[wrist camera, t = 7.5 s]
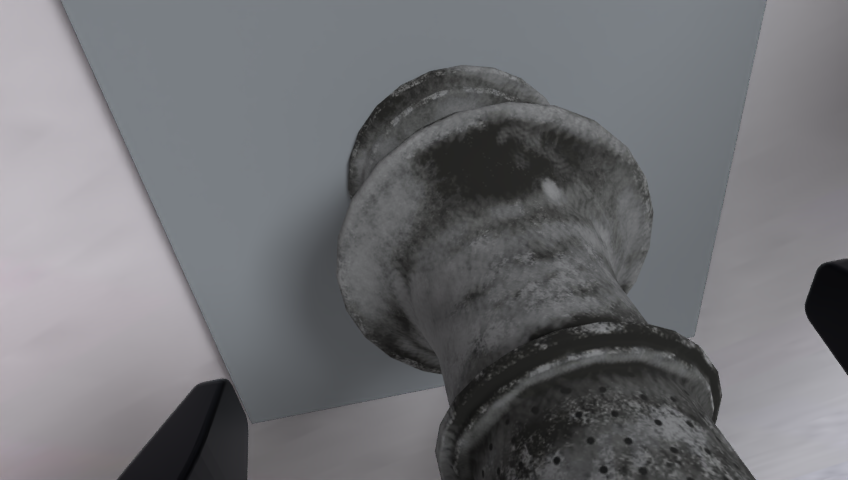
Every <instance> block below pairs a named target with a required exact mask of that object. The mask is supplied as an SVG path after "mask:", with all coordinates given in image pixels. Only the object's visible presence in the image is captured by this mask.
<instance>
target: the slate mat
mask: <svg viewBox="0 0 848 480" xmlns="http://www.w3.org/2000/svg"><path fill="white" fill-rule="evenodd" d="M766 1H767V0H61V2H62V4H63V6H64V9H65V11H66V13H67V15H68V17H69V20H70V22H71V24H72V26H73V28H74V31H75V33H76V35H77V37H78V40H79V42H80V44H81V46H82V48H83V51H84V53H85V55H86V57H87V60H88V62H89V64H90V66H91V68H92V71H93V73H94V75H95V77H96V79H97V82H98V84H99V86H100V88H101V91H102V93H103V95H104V97H105V99H106V102H107V104H108V106H109V108H110V110H111V113H112V115H113V117H114V119H115V122H116V124H117V126H118V128H119V130H120V133H121V135H122V137H123V139H124V141H125V144H126V146H127V148H128V150H129V153H130V155H131V157H132V159H133V161H134V164H135V166H136V168H137V170H138V173H139V175H140V177H141V179H142V181H143V184H144V186H145V188H146V190H147V192H148V195H149V197H150V199H151V201H152V204H153V206H154V208H155V210H156V212H157V215H158V217H159V219H160V221H161V223H162V226H163V228H164V230H165V232H166V235H167V237H168V239H169V241H170V243H171V246H172V248H173V250H174V252H175V255H176V257H177V259H178V261H179V263H180V266H181V268H182V270H183V272H184V274H185V277H186V279H187V281H188V283H189V286H190V288H191V290H192V292H193V294H194V297H195V299H196V301H197V303H198V305H199V308H200V310H201V312H202V314H203V317H204V319H205V321H206V323H207V325H208V328H209V330H210V332H211V334H212V336H213V339H214V341H215V343H216V345H217V348H218V350H219V352H220V354H221V356H222V359H223V361H224V363H225V365H226V368H227V370H228V372H229V374H230V376H231V379H232V381H233V383H234V385H235V387H236V390H237V392H238V394H239V396H240V399H241V401H242V403H243V405H244V407H245V410H246V412H247V414H248V416H249V418H250V421H251V423H252V424H254V423H259V422H264V421H269V420H274V419H279V418H284V417H289V416H294V415H299V414H304V413H309V412H315V411H320V410H325V409H330V408H335V407H340V406H345V405H350V404H355V403H360V402H365V401H370V400H375V399H380V398H385V397H391V396H396V395H401V394H406V393H411V392H416V391H421V390H426V389H431V388H436V387H441V386H445V384H444V380H443V376H442V374H436V373H431V372H425V371H421V370H419V369H416V368H414V367H412V366H409V365H407V364H405V363H402V362H400V361H398V360H395V359H393V358H391V357H389V356H388V355H387V354H386V353H384V352H383V351H382V350H381V349H379V348H378V347H377V346H375V345H374V344H373V343H372V342H370V341H369V340H368V339H367V338H365V337H364V335H363V334H362V332H361V331H360V329H359V328H358V327H357V325H356V324H355V322H354V321H353V319H352V318H351V317H350V315H349V314H348V312H347V311H346V308H345V305H344V301H343V298H342V295H341V291H340V288H339V284H338V281H337V278H336V271H337V244H338V235H339V233H340V230H341V227H342V224H343V221H344V219H345V216H346V213H347V210H348V208H349V205H350V202H351V199H350V195H349V191H348V175H349V159H350V156H351V153H352V150H353V147H354V144H355V141H356V138H357V135H358V132H359V130H360V129H361V128H362V126H363V125H364V123H365V122H366V120H367V119H368V117H369V116H370V114H371V113H372V112H373V110H374V109H375V107H376V106H377V105H378V104H379V103H380V102H382V101H383V100H384V99H385V98H386V97H388V96H389V95H390V94H391V93H392V92H393V91H395V90H396V89H397V88H398V87H399V86H400V85H402V84H404V83H406V82H408V81H411V80H413V79H415V78H417V77H419V76H421V75H423V74H425V73H427V72H429V71H433V70H438V69H443V68H449V67H454V66H459V65H469V66H481V67H492V68H496V69H498V70H501V71H504V72H506V73H509V74H511V75H514V76H516V77H519V78H521V79H523V80H524V81H525V82H526V83H528V84H529V85H530V86H532V87H533V88H534V89H535V90H537V91H538V92H539V93H540V94H542V95H543V96H544V97H545V98H546V99H547V101H548V102H549V104H550V105H555V106H558V107H561V108H563V109H566V110H569V111H571V112H574V113H577V114H579V115H582V116H585V117H587V118H590V119H592V120H595V121H596V122H597V123H599V124H600V125H601V126H602V127H604V128H605V129H606V130H607V131H608V132H610V133H611V134H612V135H613V136H615V137H616V138H617V139H618V140H620V141H621V142H622V143H623V144H624V145H626V146H627V147H628V148H629V150H630V152H631V153H632V155H633V157H634V158H635V160H636V162H637V163H638V165H639V167H640V168H641V170H642V172H643V173H644V175H645V177H646V178H647V183H648V188H649V193H650V198H651V202H652V207H653V212H654V213H653V222H652V232H651V241H650V248H649V250H648V253H647V255H646V258H645V261H644V263H643V266H642V268H641V271H640V273H639V276H638V278H637V281H636V282H635V284H634V285H633V287H632V288H631V290H630V291H629V292H628V294H627V296H628V298H629V299H630V300H631V302H632V303H633V304H634V306H635V307H636V308H637V309H638V311H639V312H640V313H641V315H642V316H643V317H644V319H645V320H646V321H647V323H648V324H650V325H654V326H658V327H662V328H666V329H670V330H674V331H676V332H678V333H679V334H681V335H682V336H684V337H686V338H689V337H694V335H695V331H696V326H697V321H698V317H699V312H700V307H701V303H702V298H703V294H704V289H705V284H706V280H707V275H708V270H709V266H710V261H711V256H712V252H713V247H714V243H715V238H716V233H717V229H718V224H719V219H720V215H721V210H722V205H723V201H724V196H725V192H726V187H727V182H728V178H729V173H730V168H731V164H732V159H733V154H734V150H735V145H736V141H737V136H738V131H739V127H740V122H741V117H742V113H743V108H744V103H745V99H746V94H747V90H748V85H749V80H750V76H751V71H752V66H753V62H754V57H755V52H756V48H757V43H758V39H759V34H760V29H761V25H762V20H763V15H764V11H765V6H766Z"/></svg>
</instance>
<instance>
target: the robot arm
mask: <svg viewBox="0 0 848 480" xmlns="http://www.w3.org/2000/svg"><path fill="white" fill-rule="evenodd" d="M805 312H806V315H807V318H808V319H809V321H810V323H811V324H812V325H813V327H814V328H815V330H816V331H817V332H818V334H819V335H820V337H821V338H822V340H823V341H824V342H825V344H826V345H827V347H828V348H829V349H830V351H831V352H832V354H833V355H834V357H835V358H836V359H837V361H838V362H839V364H840V365H841V366H842V368H843V369H844V371H845V372H846V374H847V375H848V259H841V260H836V261H831V262H826V263H824V264H822V265H821V266H820V267H819V268H818V269H817V271H816V274H815V276H814V279H813V282H812V285H811V288H810V291H809V293H808V296H807V299H806V302H805ZM247 466H248V423H247V418H246V415H245V412H244V410H243V408H242V406H241V403H240V401H239V399H238V397H237V395H236V393H235V390H234V388H233V386H232V384H231V383H230V381H229V380H227V379H217V380H212V381H207V382H202V383H199V384H198V385H196V386H195V387H194V388H193V389H192V390H191V392H190V393H189V394H188V395H187V396H186V398H185V399H184V400H183V401H182V402H181V404H180V405H179V406H178V407H177V408H176V410H175V411H174V412H173V413H172V414H171V415H170V417H169V418H168V419H167V420H166V421H165V423H164V424H163V425H162V426H161V427H160V429H159V430H158V431H157V432H156V433H155V435H154V436H153V437H152V438H151V439H150V440H149V442H148V443H147V444H146V445H145V446H144V448H143V449H142V450H141V451H140V452H139V454H138V455H137V456H136V457H135V458H134V460H133V461H132V462H131V463H130V464H129V466H128V467H127V468H126V469H125V470H124V471H123V473H122V474H121V475H120V476H119V477H118V479H117V480H247Z"/></svg>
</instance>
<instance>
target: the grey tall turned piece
mask: <svg viewBox="0 0 848 480" xmlns="http://www.w3.org/2000/svg"><path fill="white" fill-rule="evenodd" d="M348 191H349V195H350V199H351V202H350V205H349V208H348V210H347V213H346V216H345V219H344V221H343V224H342V227H341V230H340V233H339V235H338V244H337V271H336V278H337V281H338V284H339V288H340V291H341V295H342V298H343V301H344V305H345V308H346V311H347V312H348V314H349V315H350V317H351V318H352V319H353V321H354V322H355V324H356V325H357V327H358V328H359V329H360V331H361V332H362V334H363V335H364V337H365V338H367V339H368V340H369V341H370V342H372V343H373V344H374V345H375V346H377V347H378V348H379V349H381V350H382V351H383V352H384V353H386V354H387V355H388V356H389V357H391V358H393V359H395V360H398V361H400V362H402V363H405V364H407V365H409V366H412V367H414V368H416V369H419V370H421V371H425V372H431V373H436V374H442V376H443V380H444V384H445V388H446V393H447V397H448V401H449V405H450V408H449V410H448V411H447V413H446V415H445V417H444V418H443V420H442V422H441V424H440V427H439V432H438V438H437V444H436V449H435V453H436V458H437V462H438V466H439V471H440V475H441V479H442V480H756V479H755V478H754V477H753V475H752V474H751V472H750V471H749V470H748V468H747V467H746V466H745V464H744V463H743V462H742V460H741V459H740V458H739V456H738V455H737V453H736V452H735V451H734V449H733V448H732V447H731V445H730V444H729V443H728V441H727V440H726V439H725V437H724V436H723V434H722V433H721V432H720V430H719V429H718V428H717V426H716V425H715V423H716V420H717V415H718V411H719V407H720V402H721V398H722V393H721V387H720V381H719V375H718V371H717V370H716V368H715V367H714V366H713V364H712V363H711V361H710V360H709V358H708V357H707V356H706V354H705V353H704V351H703V350H702V349H701V348H700V347H699V346H698V345H697V344H695V343H693V342H692V341H690V340H689V339H687V338H686V337H684V336H682V335H681V334H679V333H678V332H676V331H674V330H670V329H666V328H662V327H658V326H654V325H650V324H648V323H647V321H646V320H645V319H644V317H643V316H642V315H641V313H640V312H639V311H638V309H637V308H636V307H635V306H634V304H633V303H632V302H631V300H630V299H629V298H628V296H627V294H628V292H629V291H630V290H631V288H632V287H633V285H634V284H635V282H636V281H637V278H638V276H639V273H640V271H641V268H642V266H643V263H644V261H645V258H646V255H647V253H648V250H649V248H650V241H651V232H652V222H653V213H654V212H653V207H652V202H651V198H650V193H649V188H648V183H647V178H646V177H645V175H644V173H643V172H642V170H641V168H640V167H639V165H638V163H637V162H636V160H635V158H634V157H633V155H632V153H631V152H630V150H629V148H628V147H627V146H626V145H624V144H623V143H622V142H621V141H620V140H618V139H617V138H616V137H615V136H613V135H612V134H611V133H610V132H608V131H607V130H606V129H605V128H604V127H602V126H601V125H600V124H599V123H597V122H596V121H595V120H592V119H590V118H587V117H585V116H582V115H579V114H577V113H574V112H571V111H569V110H566V109H563V108H561V107H558V106H555V105H550V104H549V102H548V101H547V99H546V98H545V97H544V96H543V95H542V94H540V93H539V92H538V91H537V90H535V89H534V88H533V87H532V86H530V85H529V84H528V83H526V82H525V81H524V80H523V79H521V78H519V77H516V76H514V75H511V74H509V73H506V72H504V71H501V70H498V69H496V68H492V67H481V66H469V65H459V66H454V67H449V68H443V69H438V70H433V71H429V72H427V73H425V74H423V75H421V76H419V77H417V78H415V79H413V80H411V81H408V82H406V83H404V84H402V85H400V86H399V87H398V88H397V89H396V90H395V91H393V92H392V93H391V94H390V95H389V96H388V97H386V98H385V99H384V100H383V101H382V102H380V103H379V104H378V105H377V106H376V107H375V109H374V110H373V112H372V113H371V114H370V116H369V117H368V119H367V120H366V122H365V123H364V125H363V126H362V128H361V129H360V130H359V132H358V135H357V138H356V141H355V144H354V147H353V150H352V153H351V156H350V159H349V175H348Z"/></svg>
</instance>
